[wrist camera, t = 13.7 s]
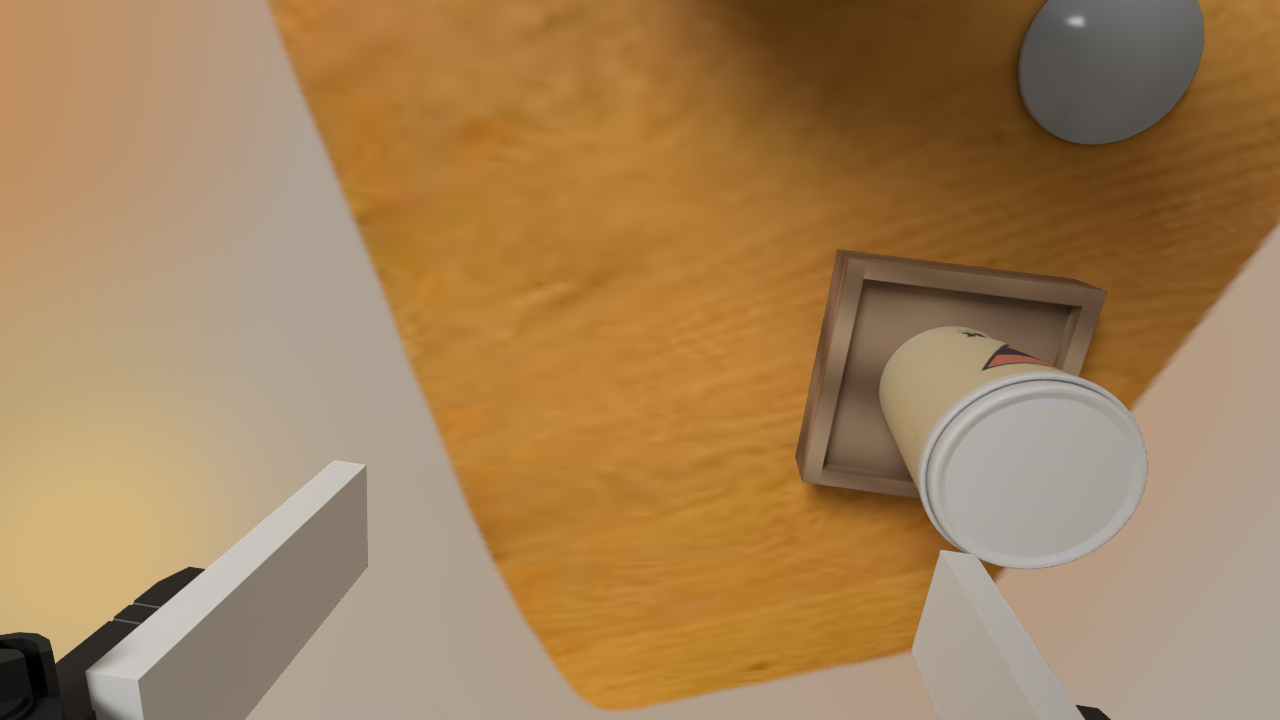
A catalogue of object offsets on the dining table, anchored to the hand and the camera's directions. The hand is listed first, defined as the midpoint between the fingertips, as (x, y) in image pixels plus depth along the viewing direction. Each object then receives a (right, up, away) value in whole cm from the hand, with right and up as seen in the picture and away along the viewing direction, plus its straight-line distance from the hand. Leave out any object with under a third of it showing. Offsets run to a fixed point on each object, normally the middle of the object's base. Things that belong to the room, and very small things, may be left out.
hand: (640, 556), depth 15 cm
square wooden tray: (+18, +4, +27) cm, 33 cm away
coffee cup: (+18, +3, +25) cm, 31 cm away
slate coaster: (+25, +21, +21) cm, 39 cm away
